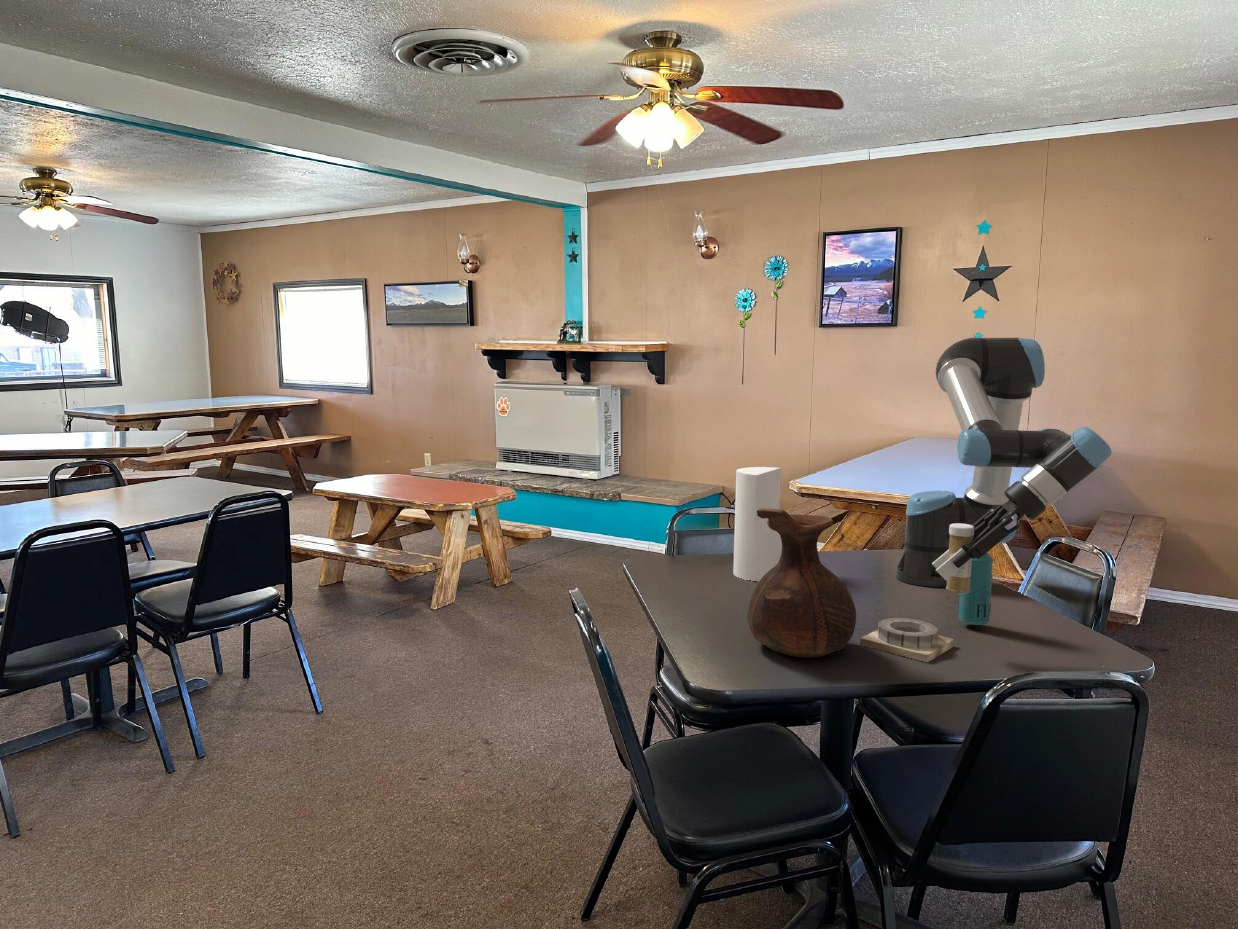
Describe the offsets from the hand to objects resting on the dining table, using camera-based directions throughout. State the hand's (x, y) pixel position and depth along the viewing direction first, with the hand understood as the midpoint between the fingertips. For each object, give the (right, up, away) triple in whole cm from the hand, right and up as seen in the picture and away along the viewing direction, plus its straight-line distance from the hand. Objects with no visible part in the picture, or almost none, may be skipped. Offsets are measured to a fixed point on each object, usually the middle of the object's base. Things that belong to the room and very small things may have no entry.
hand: (938, 571), depth 168 cm
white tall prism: (-24, -8, +59) cm, 64 cm away
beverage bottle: (+14, -14, +16) cm, 25 cm away
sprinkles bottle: (+4, -4, 0) cm, 6 cm away
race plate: (-5, -16, +4) cm, 17 cm away
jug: (-28, -16, +2) cm, 32 cm away
